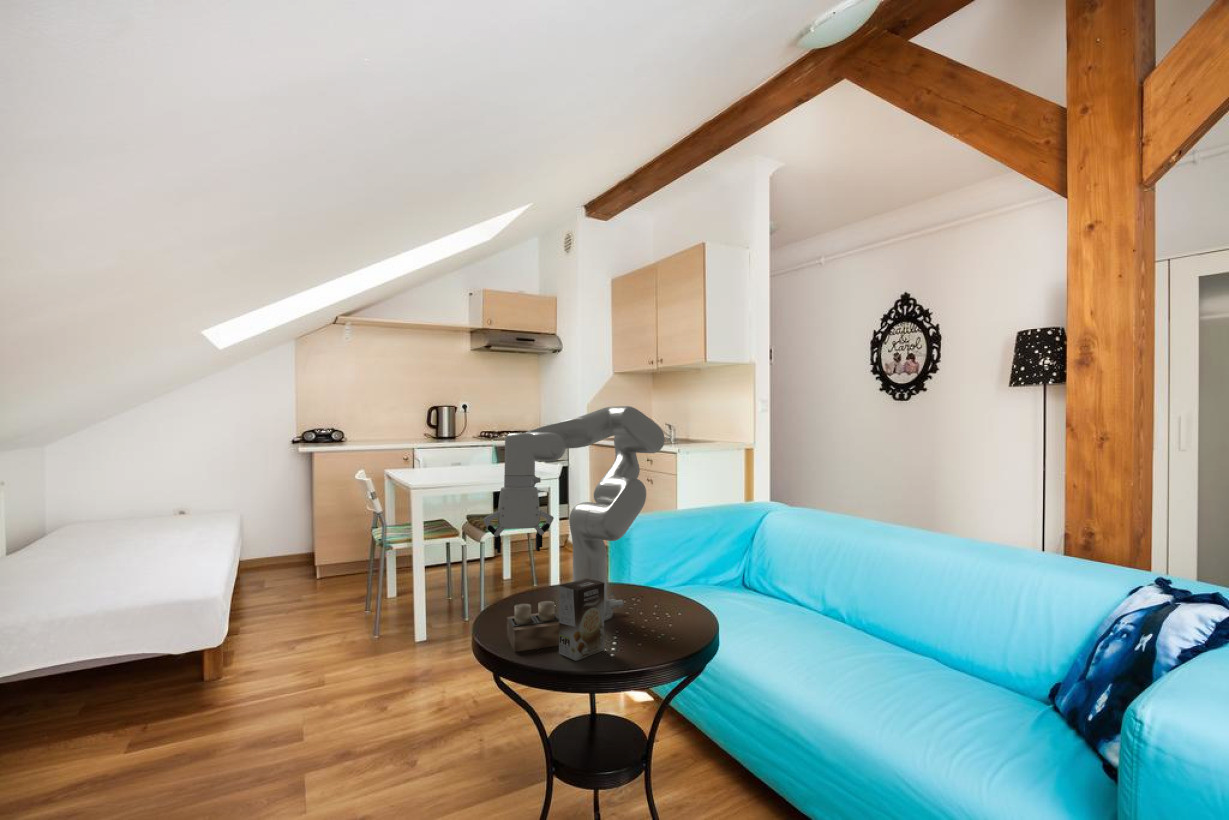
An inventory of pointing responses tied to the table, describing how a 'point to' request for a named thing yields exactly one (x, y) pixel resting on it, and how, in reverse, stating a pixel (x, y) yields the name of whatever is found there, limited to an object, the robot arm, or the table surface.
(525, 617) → the peg outer
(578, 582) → the cookie box
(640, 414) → the robot arm
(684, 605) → the table surface
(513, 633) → the press block
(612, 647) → the table surface
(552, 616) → the peg inner
